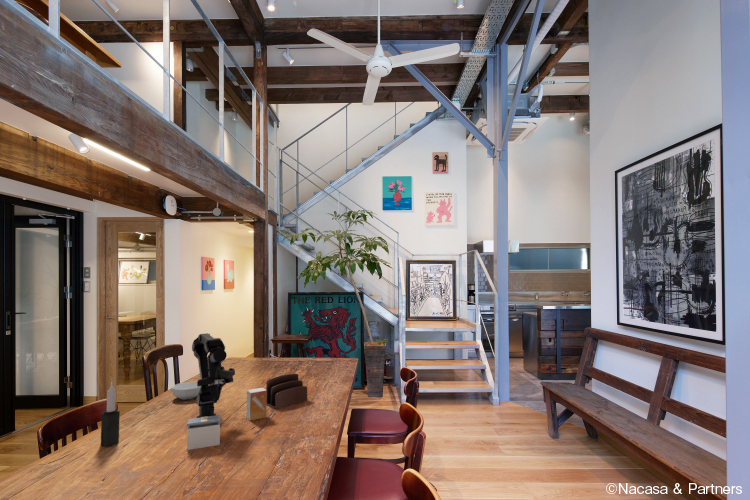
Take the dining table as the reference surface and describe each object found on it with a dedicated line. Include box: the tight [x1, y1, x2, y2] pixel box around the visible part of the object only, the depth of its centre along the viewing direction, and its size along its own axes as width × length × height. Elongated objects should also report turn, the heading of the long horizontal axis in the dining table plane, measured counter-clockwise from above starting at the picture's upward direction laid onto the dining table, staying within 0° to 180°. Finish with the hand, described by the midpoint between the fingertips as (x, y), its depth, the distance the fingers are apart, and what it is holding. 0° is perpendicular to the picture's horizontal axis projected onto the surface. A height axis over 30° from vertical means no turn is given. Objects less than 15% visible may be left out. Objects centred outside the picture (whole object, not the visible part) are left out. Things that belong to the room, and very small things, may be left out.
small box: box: [246, 387, 268, 421], centre depth 190 cm, size 8×6×13 cm
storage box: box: [186, 422, 221, 451], centre depth 161 cm, size 8×12×8 cm, turn 112°
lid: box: [186, 414, 222, 427], centre depth 161 cm, size 9×12×1 cm
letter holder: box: [265, 373, 308, 410], centre depth 212 cm, size 10×20×14 cm, turn 134°
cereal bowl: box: [171, 381, 201, 401], centre depth 223 cm, size 17×17×7 cm
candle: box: [100, 381, 121, 448], centre depth 162 cm, size 5×5×25 cm
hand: (217, 400), depth 177 cm, fingers closed
